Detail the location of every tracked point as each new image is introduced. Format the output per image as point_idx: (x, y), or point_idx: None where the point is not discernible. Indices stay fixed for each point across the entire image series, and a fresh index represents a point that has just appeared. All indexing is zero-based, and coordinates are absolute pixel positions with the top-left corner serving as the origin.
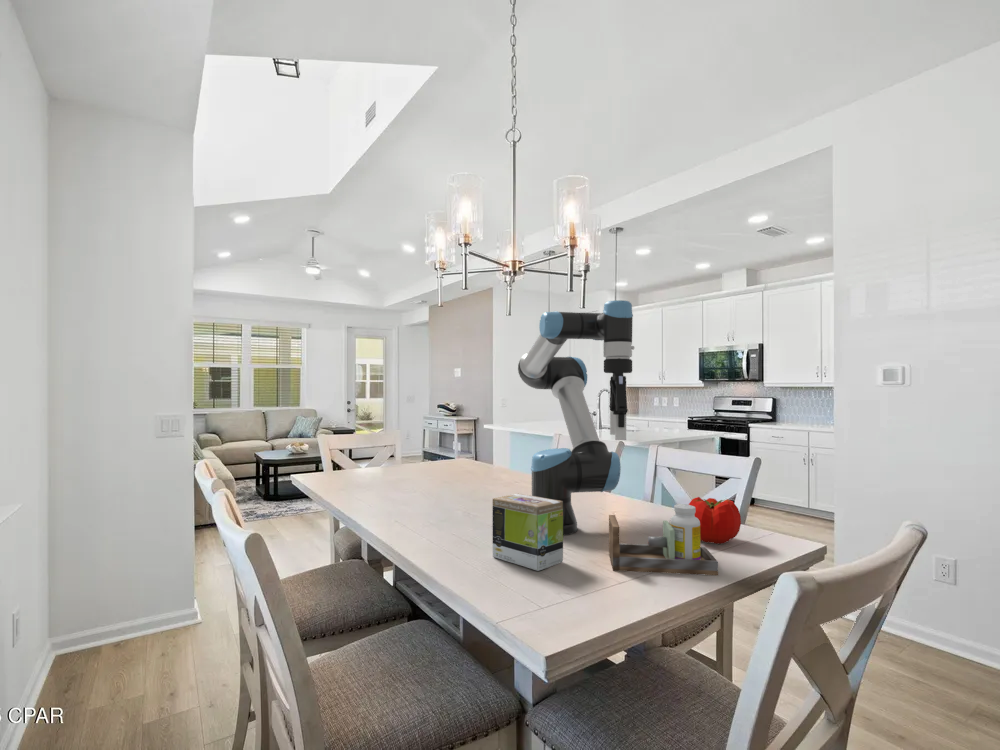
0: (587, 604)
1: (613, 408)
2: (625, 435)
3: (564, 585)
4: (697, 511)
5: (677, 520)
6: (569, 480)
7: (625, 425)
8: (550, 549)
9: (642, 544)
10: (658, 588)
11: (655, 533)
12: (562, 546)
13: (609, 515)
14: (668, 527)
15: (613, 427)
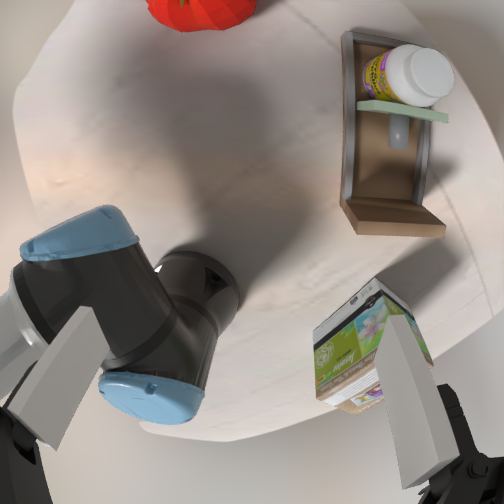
0: (490, 250)
1: (24, 449)
2: (412, 338)
3: (448, 273)
4: (229, 3)
5: (438, 99)
6: (187, 333)
7: (434, 389)
8: (400, 306)
9: (349, 147)
10: (467, 159)
11: (174, 99)
12: (382, 290)
13: (363, 233)
14: (429, 117)
15: (86, 365)
